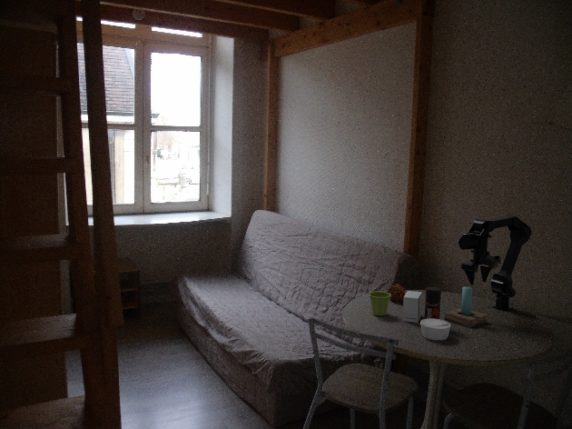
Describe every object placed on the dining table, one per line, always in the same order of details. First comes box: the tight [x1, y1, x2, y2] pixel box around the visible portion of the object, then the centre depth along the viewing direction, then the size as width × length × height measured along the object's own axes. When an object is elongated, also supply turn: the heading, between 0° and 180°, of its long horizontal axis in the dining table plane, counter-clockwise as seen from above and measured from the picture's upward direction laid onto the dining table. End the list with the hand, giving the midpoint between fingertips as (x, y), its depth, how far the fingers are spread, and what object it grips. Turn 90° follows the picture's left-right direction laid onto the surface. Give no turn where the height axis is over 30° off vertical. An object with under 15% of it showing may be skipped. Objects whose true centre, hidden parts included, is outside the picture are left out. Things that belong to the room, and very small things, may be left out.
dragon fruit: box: [385, 283, 406, 303], centre depth 246 cm, size 8×8×12 cm
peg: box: [460, 286, 474, 317], centre depth 217 cm, size 4×4×13 cm
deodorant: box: [423, 286, 442, 320], centre depth 211 cm, size 6×6×15 cm
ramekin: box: [419, 319, 451, 341], centre depth 198 cm, size 11×11×5 cm
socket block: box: [444, 307, 488, 328], centre depth 217 cm, size 12×12×3 cm
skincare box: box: [402, 290, 423, 324], centre depth 219 cm, size 10×6×10 cm, turn 157°
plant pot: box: [368, 291, 391, 317], centre depth 224 cm, size 9×9×9 cm
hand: (478, 283), depth 228 cm, fingers open, 9 cm apart
